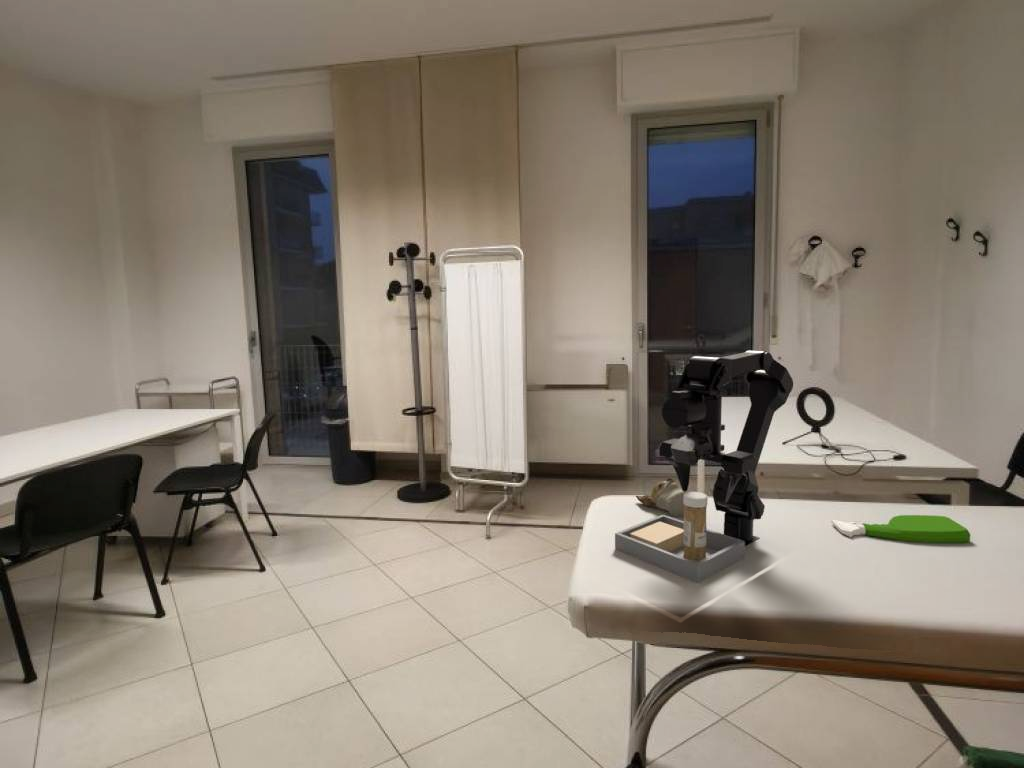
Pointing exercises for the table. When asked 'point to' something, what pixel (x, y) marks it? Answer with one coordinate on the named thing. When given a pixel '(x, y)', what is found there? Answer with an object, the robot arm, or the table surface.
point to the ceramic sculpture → (666, 497)
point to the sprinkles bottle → (694, 526)
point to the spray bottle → (910, 529)
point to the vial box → (660, 536)
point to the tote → (718, 551)
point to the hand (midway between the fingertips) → (704, 496)
